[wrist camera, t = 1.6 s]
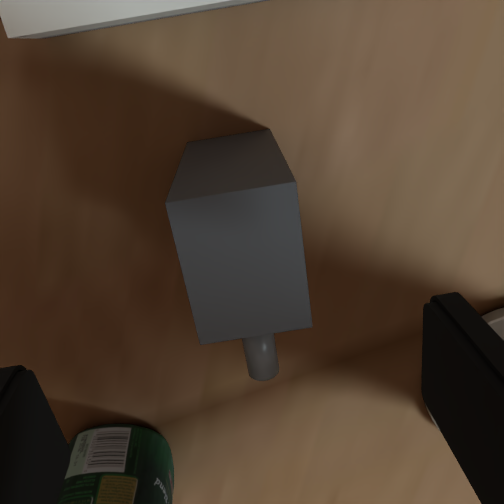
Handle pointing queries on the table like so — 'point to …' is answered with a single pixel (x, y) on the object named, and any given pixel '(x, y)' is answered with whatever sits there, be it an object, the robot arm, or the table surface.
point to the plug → (240, 244)
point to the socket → (93, 14)
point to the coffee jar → (118, 467)
